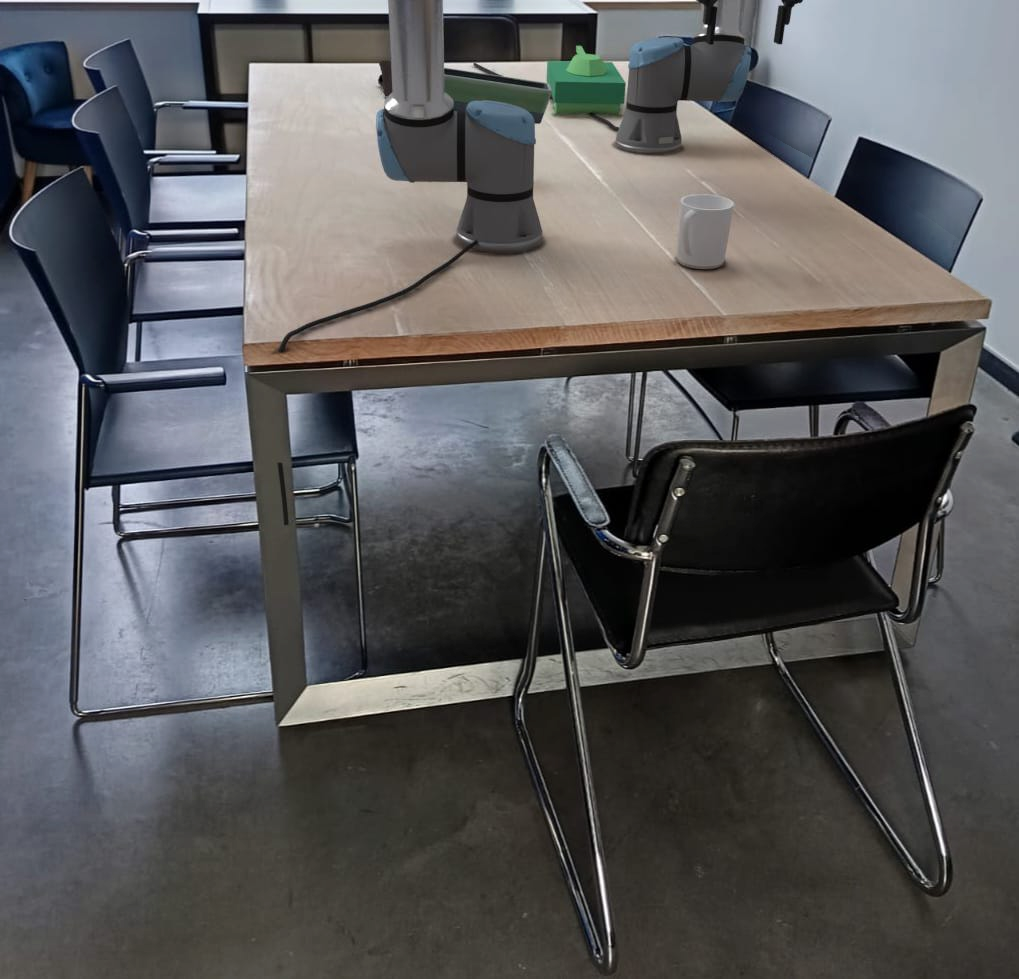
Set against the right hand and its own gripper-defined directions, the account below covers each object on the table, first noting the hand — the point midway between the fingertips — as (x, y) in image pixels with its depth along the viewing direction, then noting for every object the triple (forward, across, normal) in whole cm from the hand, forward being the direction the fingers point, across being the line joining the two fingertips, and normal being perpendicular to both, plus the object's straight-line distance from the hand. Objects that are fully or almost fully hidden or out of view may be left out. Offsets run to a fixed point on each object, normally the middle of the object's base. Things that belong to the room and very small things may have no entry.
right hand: (743, 43), depth 209 cm
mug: (+29, +18, +41) cm, 53 cm away
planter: (+16, +49, -14) cm, 54 cm away
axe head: (+29, +60, -100) cm, 120 cm away
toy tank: (+29, +14, -84) cm, 89 cm away
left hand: (+13, +59, -15) cm, 62 cm away
